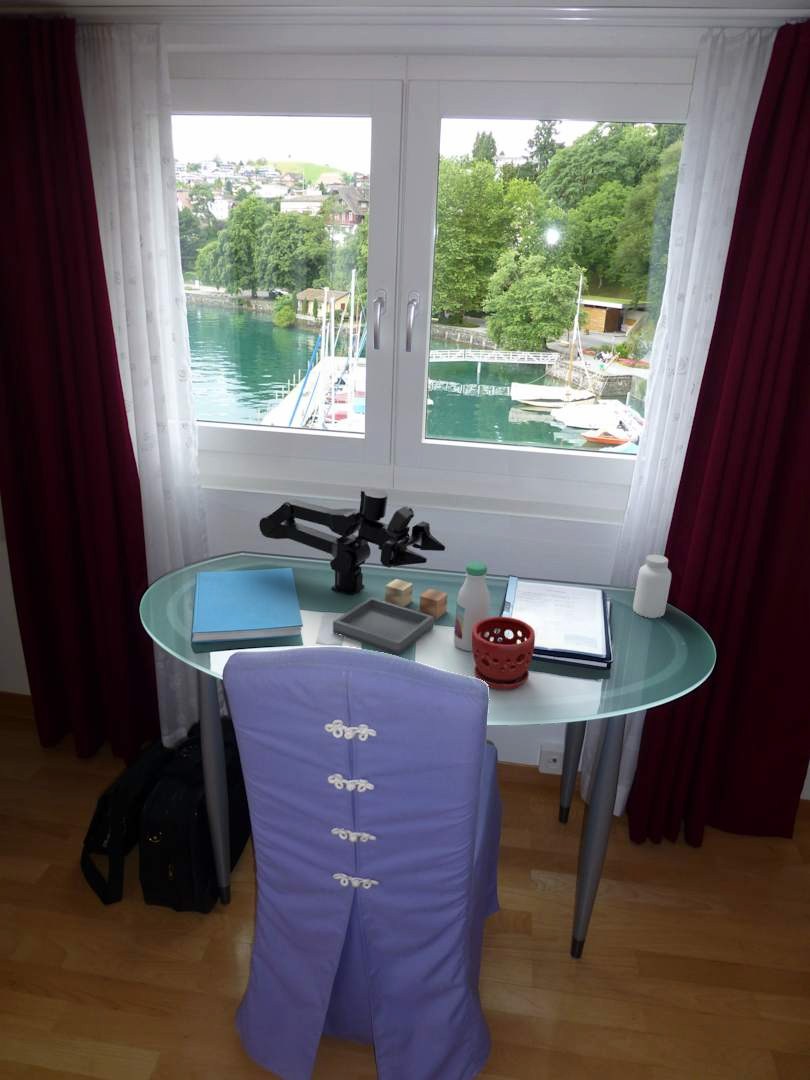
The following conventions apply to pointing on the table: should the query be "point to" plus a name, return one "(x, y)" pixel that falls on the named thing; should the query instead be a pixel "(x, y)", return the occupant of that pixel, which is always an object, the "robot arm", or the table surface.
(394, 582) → the birch block
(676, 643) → the table surface
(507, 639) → the plant pot
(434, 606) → the terracotta block
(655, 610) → the pill bottle
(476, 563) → the milk bottle
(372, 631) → the charcoal tray
